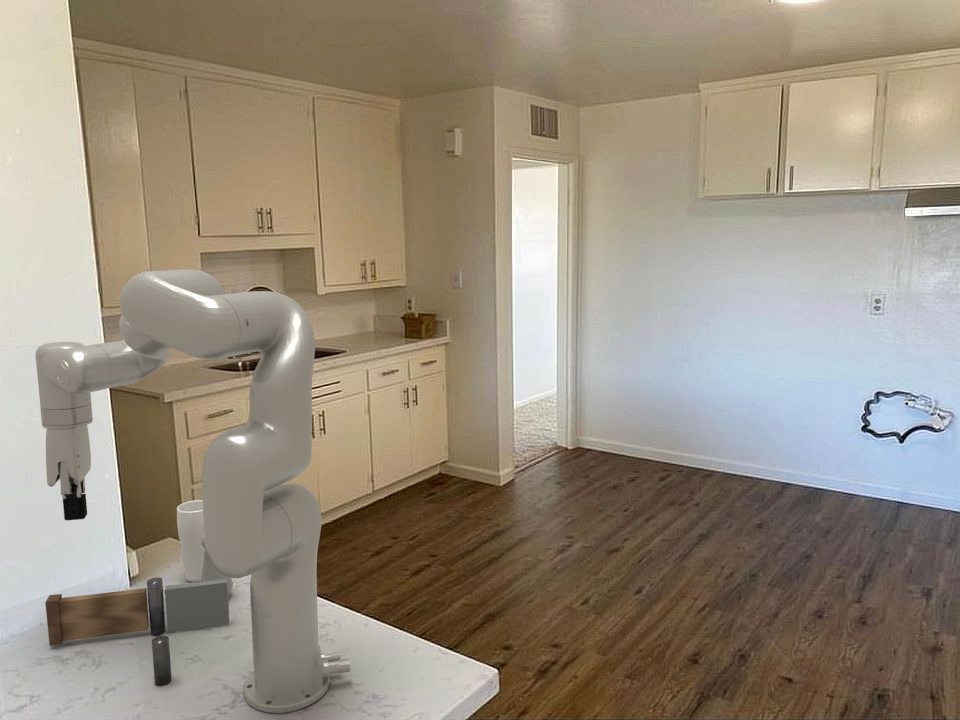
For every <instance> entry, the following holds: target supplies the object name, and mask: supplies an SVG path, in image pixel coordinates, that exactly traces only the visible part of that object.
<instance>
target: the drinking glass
mask: <svg viewBox="0 0 960 720" xmlns="http://www.w3.org/2000/svg"><path fill="white" fill-rule="evenodd" d="M176 525H177V532H178V533H177V534H178V539H179V544H180V550H181V557H182V563H183V571H184V572H183V573H184V578H185V580H186V581H187V582H190V583H194V582H201V575H202V568H203V560H204V552H205V548H204V547H203V546H202V543H201V539H202V536H203V535H204V530H203V499H197V500H196V499H195V500H191V501H186V502H182V503H181V504H179V505H178V506H177V507H176Z"/></svg>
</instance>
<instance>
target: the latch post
mask: <svg viewBox="0 0 960 720" xmlns="http://www.w3.org/2000/svg"><path fill="white" fill-rule="evenodd" d="M170 649H171V648H170V637H169V636H168V635H164V634H162V635H159V636H154V638H152V639H151V650H152V651H151V652H152V665H153V666H152V667H153V679H154V686H155V687H164V686H168V685H169V684H171V682H172V680H173V679H172V677H173V676H172V665H171V664H172V663H171V651H170Z"/></svg>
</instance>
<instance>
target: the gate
mask: <svg viewBox="0 0 960 720" xmlns="http://www.w3.org/2000/svg"><path fill="white" fill-rule="evenodd" d="M45 612H46V624H47V633H48V642H49V643H48V644H49V647H50V646H51V647H52V646H58V645H62V644H63V643H64V642H70V641H75V640H76V641H77V640H85V639H91V638H101V637H107V636H115V635H122V634H129V633H137V632H147V631H148V630H149V628H150V619H149V605H148V591H147V587H143V588H135V589H127V590H126V589H125V590H119V591H111V592H110V591H109V592H101V593H93V594H92V593H91V594H85V595H76V596H75V595H74V596H67V597H63V596H62V593H58V594H50V595H48V597H47V599H46V600H45Z"/></svg>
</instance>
